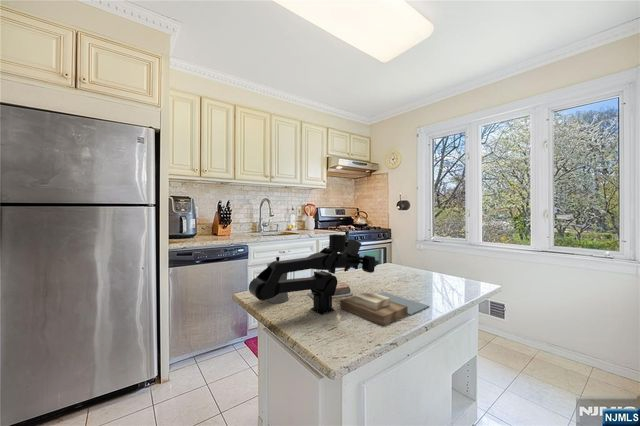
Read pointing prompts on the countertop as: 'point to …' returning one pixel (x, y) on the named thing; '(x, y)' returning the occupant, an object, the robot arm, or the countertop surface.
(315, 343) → the countertop surface
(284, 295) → the coffeepot
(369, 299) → the cream flat block
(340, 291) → the packaged product
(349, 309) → the block
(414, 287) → the countertop surface
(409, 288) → the countertop surface
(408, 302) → the mat
